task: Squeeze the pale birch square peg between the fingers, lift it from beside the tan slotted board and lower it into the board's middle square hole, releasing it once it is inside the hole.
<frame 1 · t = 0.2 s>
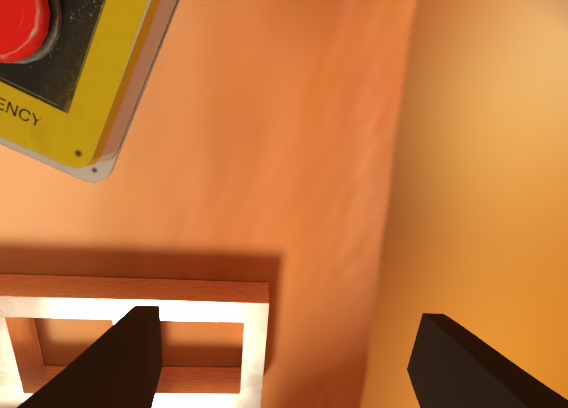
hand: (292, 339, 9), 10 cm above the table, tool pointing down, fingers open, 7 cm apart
tan slotted board: (84, 332, 21), on the table
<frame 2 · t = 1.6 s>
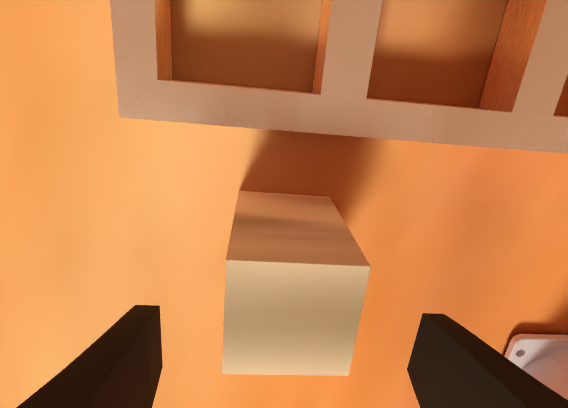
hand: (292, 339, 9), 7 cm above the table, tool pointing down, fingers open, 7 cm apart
tan slotted board: (431, 28, 13), on the table
birch peg: (280, 234, 16), on the table
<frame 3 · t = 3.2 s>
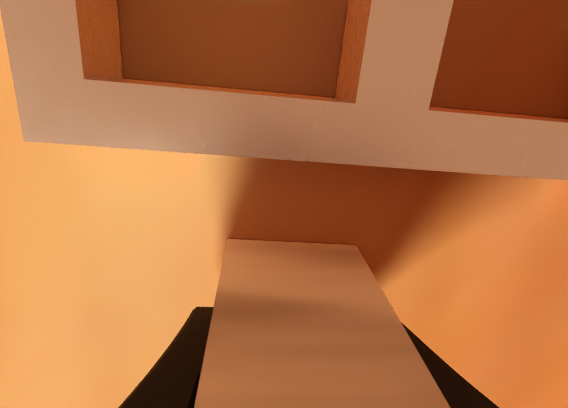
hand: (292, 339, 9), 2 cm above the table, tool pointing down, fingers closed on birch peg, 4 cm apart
tan slotted board: (519, 0, 8), on the table
birch peg: (286, 296, 11), on the table, touching gripper
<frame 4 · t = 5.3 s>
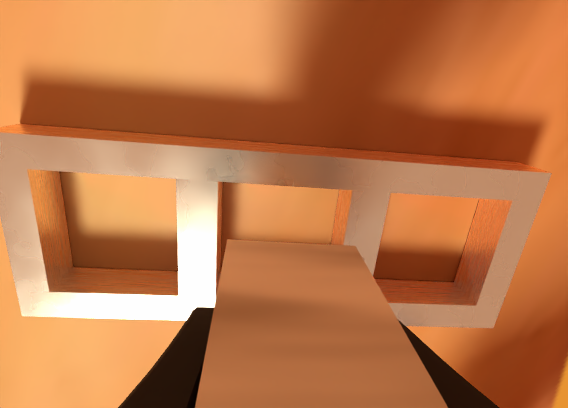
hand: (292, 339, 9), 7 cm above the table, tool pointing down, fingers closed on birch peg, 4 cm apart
tan slotted board: (278, 226, 16), on the table
birch peg: (286, 296, 11), point 5 cm above the table, touching gripper
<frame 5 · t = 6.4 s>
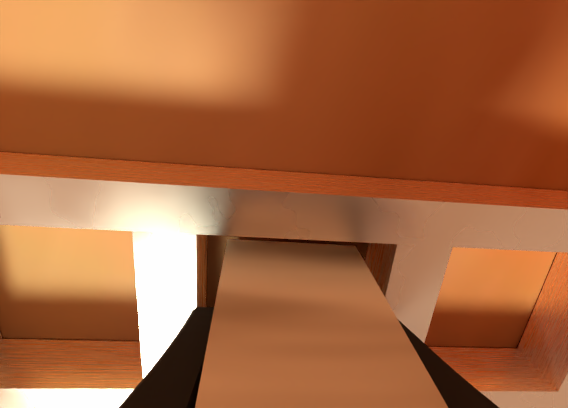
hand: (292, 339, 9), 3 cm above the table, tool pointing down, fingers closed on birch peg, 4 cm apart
tan slotted board: (285, 282, 12), on the table
birch peg: (286, 296, 11), point 1 cm above the table, touching gripper
when the fingers open (3 cm above the table, at t = 7.4 s): birch peg stays where it is, resting in tan slotted board.
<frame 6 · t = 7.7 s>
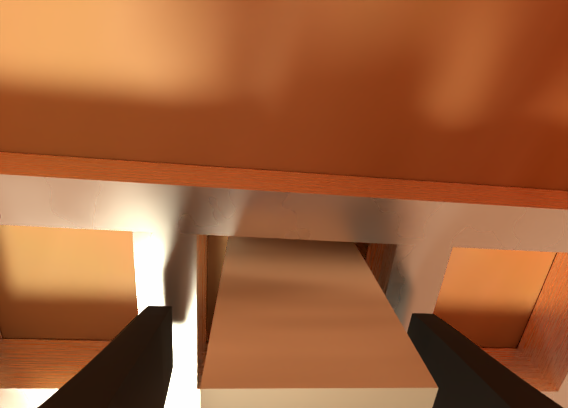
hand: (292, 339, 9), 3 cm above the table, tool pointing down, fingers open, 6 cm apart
tan slotted board: (285, 282, 12), on the table
birch peg: (286, 283, 12), resting in tan slotted board
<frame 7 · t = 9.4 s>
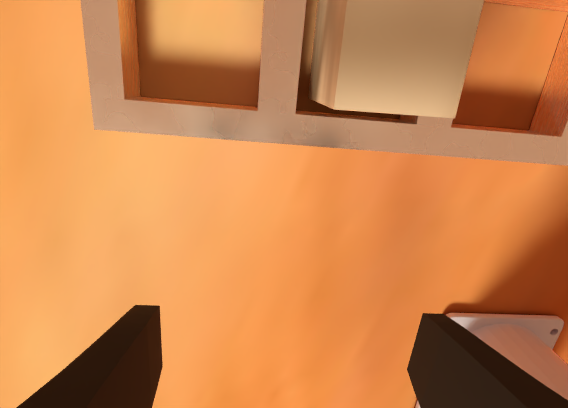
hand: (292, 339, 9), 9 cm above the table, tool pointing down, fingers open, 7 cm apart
tan slotted board: (354, 54, 16), on the table
birch peg: (355, 56, 16), resting in tan slotted board
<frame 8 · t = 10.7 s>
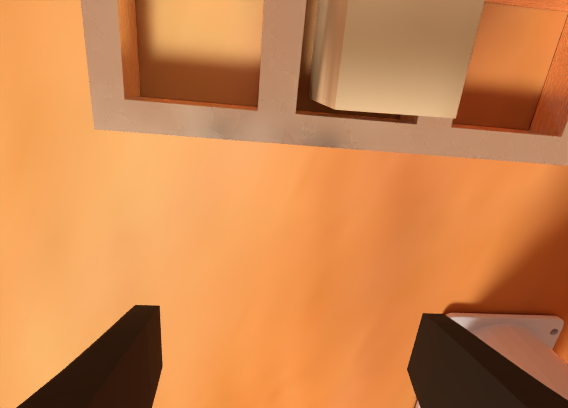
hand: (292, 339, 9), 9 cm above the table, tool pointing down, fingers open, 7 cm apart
tan slotted board: (354, 54, 16), on the table
birch peg: (355, 56, 16), resting in tan slotted board
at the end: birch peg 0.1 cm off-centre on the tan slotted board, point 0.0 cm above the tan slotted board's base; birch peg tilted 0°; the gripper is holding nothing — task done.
